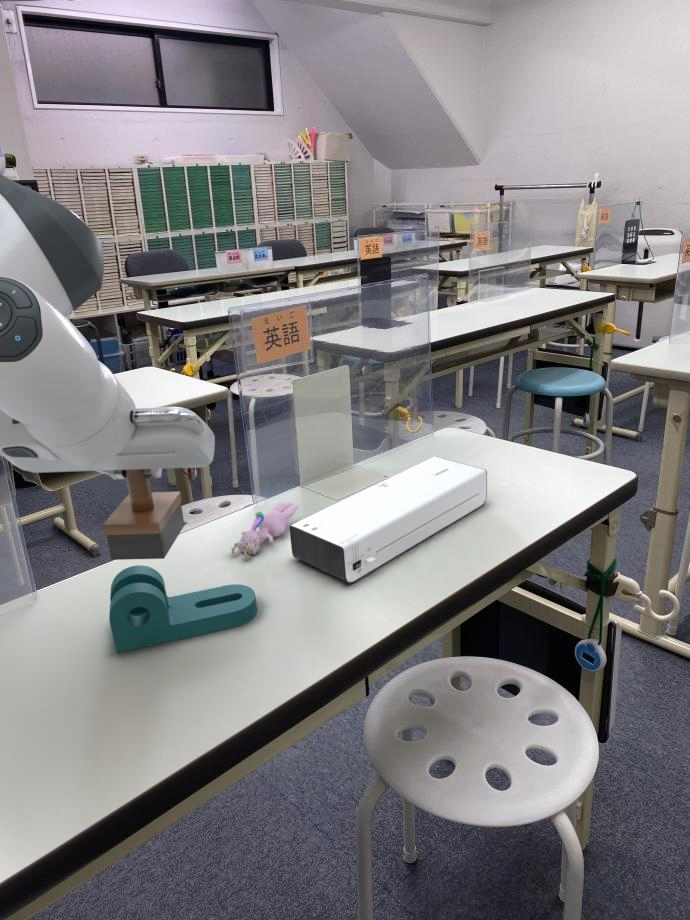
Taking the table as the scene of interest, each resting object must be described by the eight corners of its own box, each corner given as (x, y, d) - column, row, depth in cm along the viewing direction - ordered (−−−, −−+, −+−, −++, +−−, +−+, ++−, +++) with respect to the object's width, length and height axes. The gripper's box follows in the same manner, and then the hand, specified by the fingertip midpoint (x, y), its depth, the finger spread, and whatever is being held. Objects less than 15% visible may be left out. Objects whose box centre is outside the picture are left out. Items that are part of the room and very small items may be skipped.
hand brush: (164, 559, 74) (142, 435, 69) (109, 561, 75) (83, 437, 70) (186, 524, 82) (167, 410, 77) (136, 525, 83) (114, 412, 77)
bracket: (116, 653, 84) (104, 598, 81) (117, 623, 90) (106, 571, 87) (261, 621, 88) (254, 568, 86) (252, 594, 94) (245, 544, 92)
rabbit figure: (257, 570, 103) (312, 516, 113) (248, 538, 100) (305, 486, 111) (226, 561, 106) (282, 509, 117) (216, 530, 103) (275, 479, 114)
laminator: (434, 487, 124) (434, 455, 121) (492, 505, 115) (493, 471, 113) (292, 562, 102) (288, 525, 100) (351, 590, 94) (348, 550, 91)
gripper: (197, 381, 64) (232, 443, 76) (-12, 390, 65) (56, 449, 78) (191, 443, 61) (228, 496, 74) (-27, 450, 63) (46, 501, 76)
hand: (138, 472), depth 76 cm, fingers closed on hand brush, 2 cm apart
